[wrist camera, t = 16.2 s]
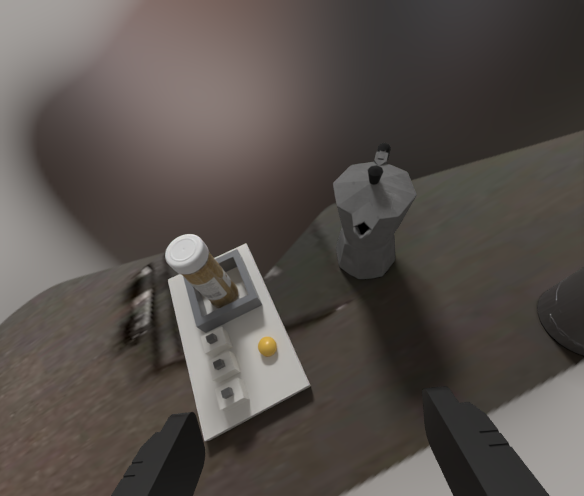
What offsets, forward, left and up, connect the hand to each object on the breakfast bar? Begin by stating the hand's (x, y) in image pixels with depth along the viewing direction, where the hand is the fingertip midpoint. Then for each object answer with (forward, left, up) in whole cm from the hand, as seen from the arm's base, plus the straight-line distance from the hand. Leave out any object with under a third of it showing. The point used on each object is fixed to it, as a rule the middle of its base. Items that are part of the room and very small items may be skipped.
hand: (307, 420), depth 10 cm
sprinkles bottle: (+7, -22, -27) cm, 35 cm away
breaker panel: (+7, -17, -29) cm, 34 cm away
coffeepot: (-17, -19, -29) cm, 38 cm away
